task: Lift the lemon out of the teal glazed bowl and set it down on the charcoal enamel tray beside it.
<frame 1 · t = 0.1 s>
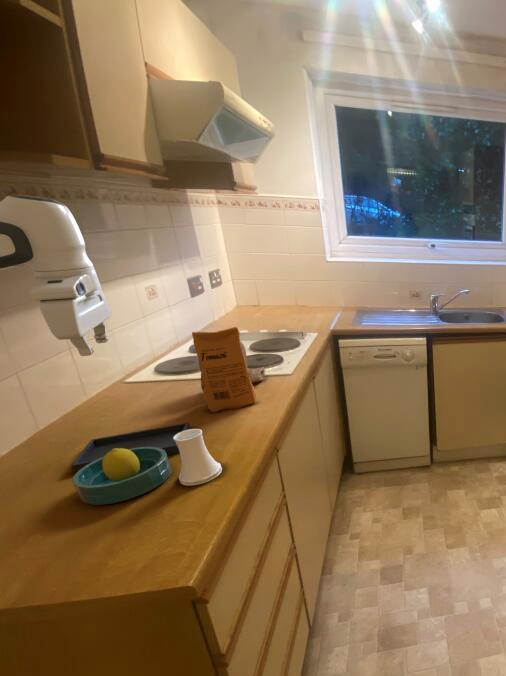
hand: (95, 348, 92), 25 cm above the countertop, tool pointing down, fingers open, 8 cm apart
coffee package: (233, 404, 125), on the countertop
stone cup: (240, 385, 138), on the countertop
vase: (201, 475, 93), on the countertop
tray: (137, 449, 102), on the countertop
bowl: (129, 483, 90), on the countertop
lemon: (128, 482, 90), resting on bowl
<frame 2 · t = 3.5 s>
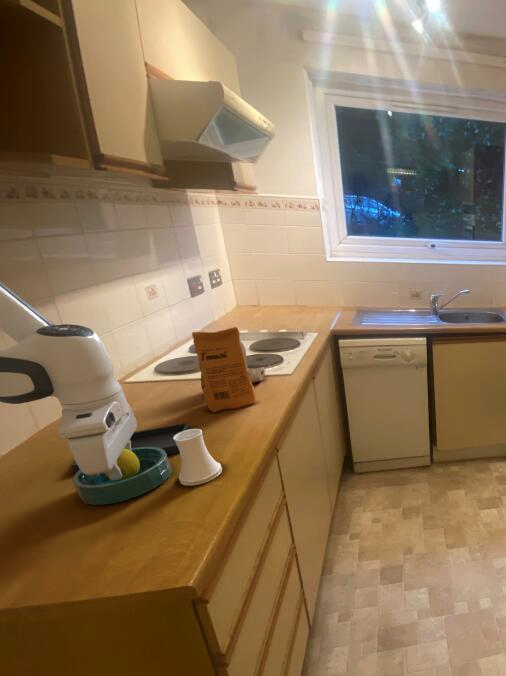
hand: (123, 469, 88), 4 cm above the countertop, tool pointing down, fingers closed on lemon, 5 cm apart
lemon: (128, 482, 90), resting on bowl, touching gripper
everything else where it was.
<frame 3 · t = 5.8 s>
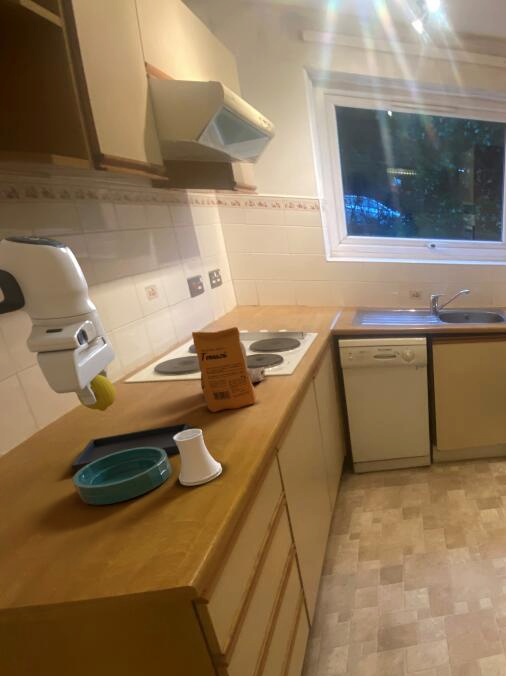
hand: (98, 396, 85), 19 cm above the countertop, tool pointing down, fingers closed on lemon, 5 cm apart
lemon: (104, 411, 87), point 15 cm above the countertop, touching gripper
everything else where it was.
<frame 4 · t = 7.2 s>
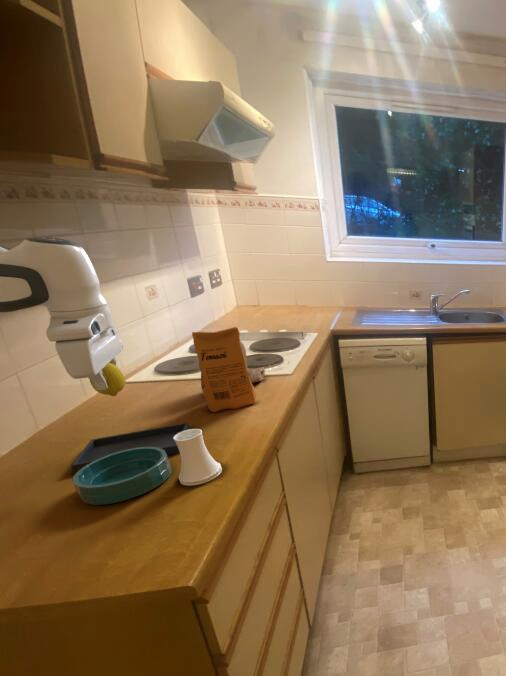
hand: (108, 383, 94), 18 cm above the countertop, tool pointing down, fingers closed on lemon, 5 cm apart
lemon: (114, 396, 95), point 14 cm above the countertop, touching gripper
everything else where it was.
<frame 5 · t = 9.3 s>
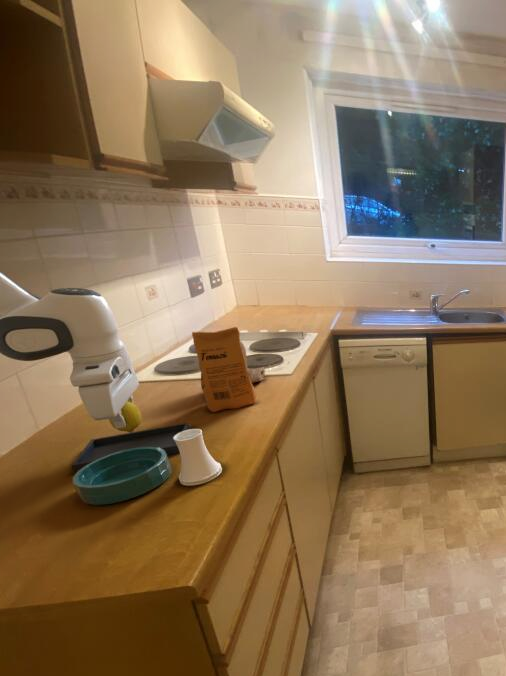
hand: (126, 420, 99), 8 cm above the countertop, tool pointing down, fingers closed on lemon, 5 cm apart
lemon: (131, 432, 100), point 4 cm above the countertop, touching gripper
everything else where it was.
when the fingers open (3 cm above the countertop, at t = 10.9 s): lemon stays where it is, resting on tray.
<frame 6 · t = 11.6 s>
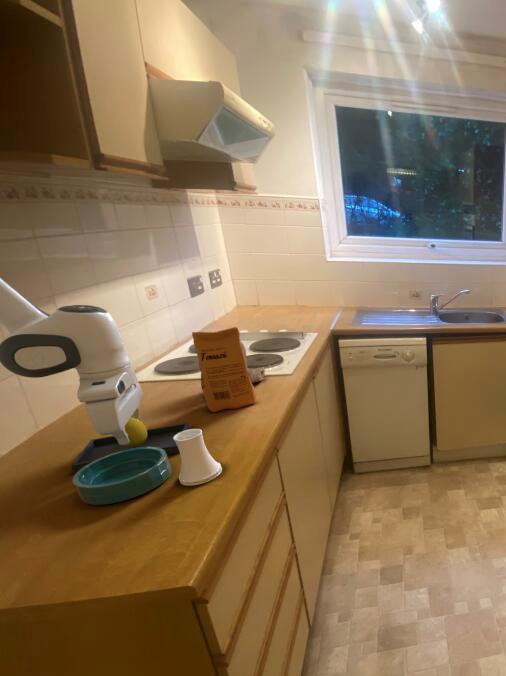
hand: (131, 433, 100), 4 cm above the countertop, tool pointing down, fingers open, 8 cm apart
lemon: (137, 448, 102), resting on tray
everything else where it was.
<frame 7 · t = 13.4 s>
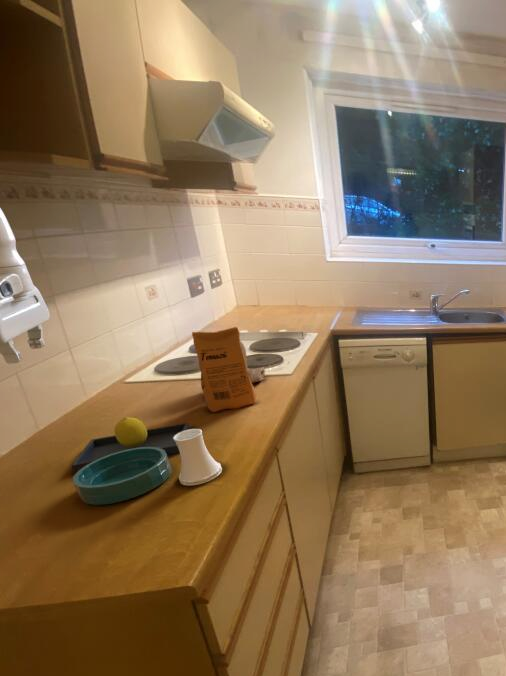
hand: (27, 354, 84), 27 cm above the countertop, tool pointing down, fingers open, 8 cm apart
nothing on the countertop moved.
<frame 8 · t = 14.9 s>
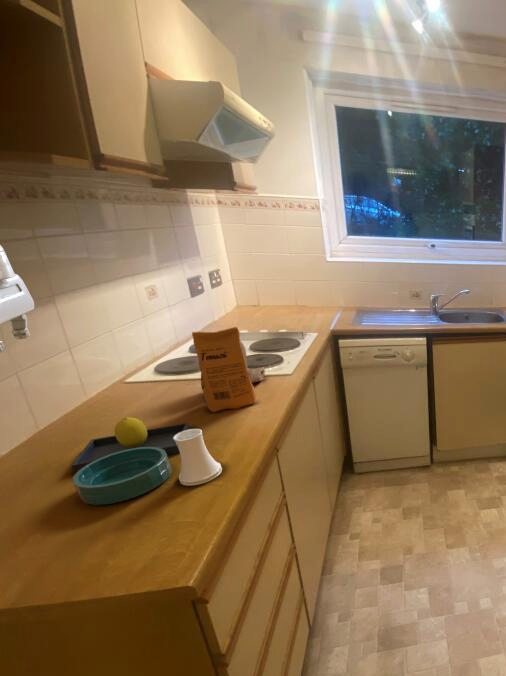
hand: (11, 344, 82), 29 cm above the countertop, tool pointing down, fingers open, 8 cm apart
nothing on the countertop moved.
at the end: lemon inside the target area in the tray (0.0 cm from its centre), point 0.3 cm above the tray's base; the gripper is holding nothing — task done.
